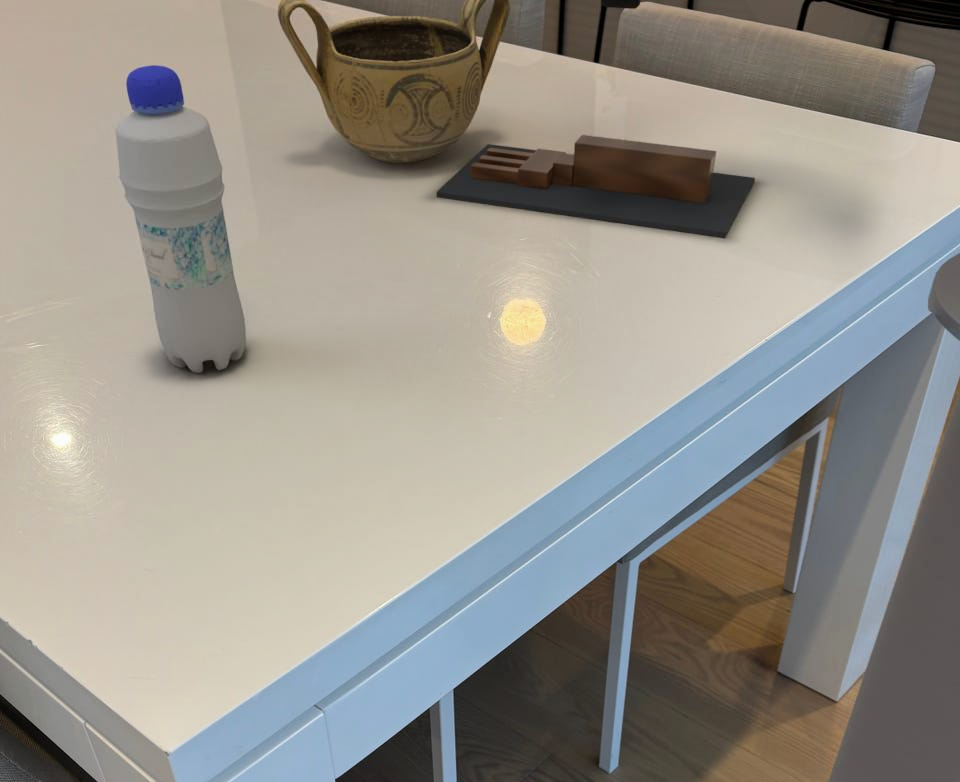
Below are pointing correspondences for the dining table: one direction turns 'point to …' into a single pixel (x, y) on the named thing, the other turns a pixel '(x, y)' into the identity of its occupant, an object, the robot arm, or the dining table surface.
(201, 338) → the bottle
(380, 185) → the dining table surface
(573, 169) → the fork
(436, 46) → the ceramic bowl
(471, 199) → the place mat
